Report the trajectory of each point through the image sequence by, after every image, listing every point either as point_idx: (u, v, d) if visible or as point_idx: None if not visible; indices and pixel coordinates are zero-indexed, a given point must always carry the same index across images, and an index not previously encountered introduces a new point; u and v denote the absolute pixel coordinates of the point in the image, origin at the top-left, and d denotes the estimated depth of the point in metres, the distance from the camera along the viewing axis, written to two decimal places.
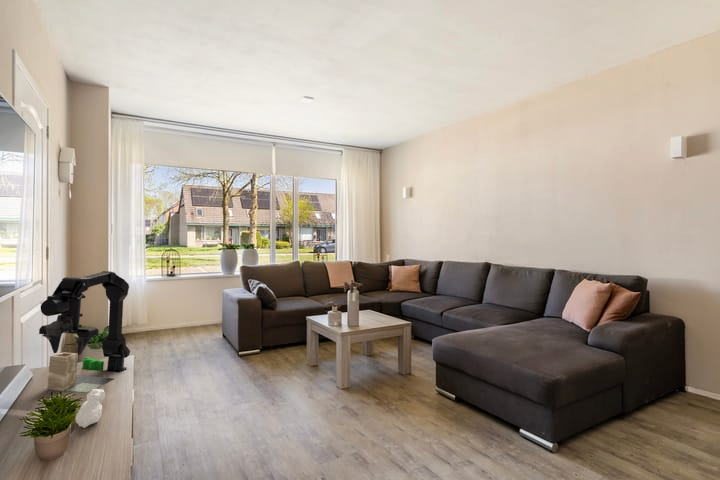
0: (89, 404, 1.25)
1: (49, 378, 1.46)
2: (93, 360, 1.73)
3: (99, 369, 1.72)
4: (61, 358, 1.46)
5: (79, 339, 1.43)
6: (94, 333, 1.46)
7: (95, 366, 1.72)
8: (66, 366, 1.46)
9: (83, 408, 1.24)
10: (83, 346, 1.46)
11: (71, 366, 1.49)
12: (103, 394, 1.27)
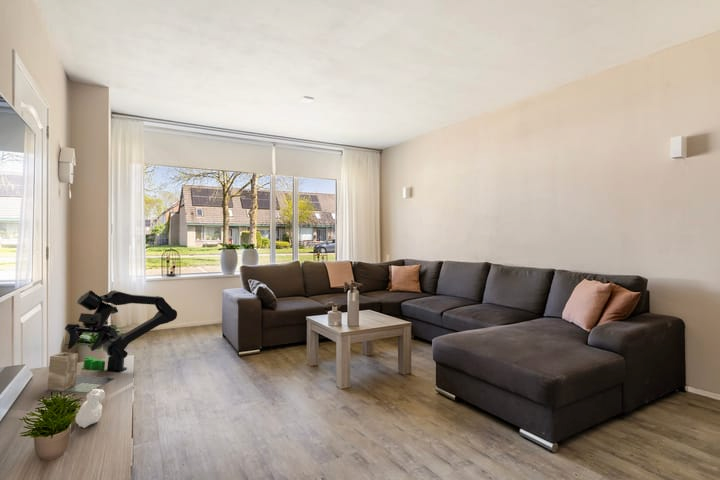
0: (89, 404, 1.25)
1: (49, 378, 1.46)
2: (94, 360, 1.73)
3: (100, 369, 1.72)
4: (61, 358, 1.46)
5: (101, 332, 1.59)
6: (114, 333, 1.63)
7: (96, 366, 1.73)
8: (66, 366, 1.46)
9: (83, 408, 1.24)
10: (99, 343, 1.59)
11: (71, 366, 1.49)
12: (103, 394, 1.27)
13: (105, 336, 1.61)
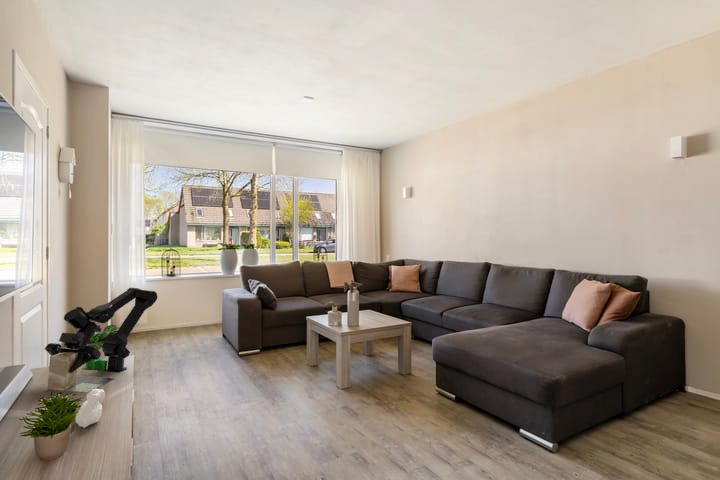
0: (89, 404, 1.25)
1: (49, 378, 1.46)
2: None
3: (102, 368, 1.73)
4: (61, 358, 1.46)
5: (80, 353, 1.50)
6: (97, 354, 1.53)
7: (98, 365, 1.73)
8: (66, 366, 1.46)
9: (83, 408, 1.24)
10: (77, 365, 1.50)
11: None
12: (103, 394, 1.27)
13: (85, 357, 1.52)
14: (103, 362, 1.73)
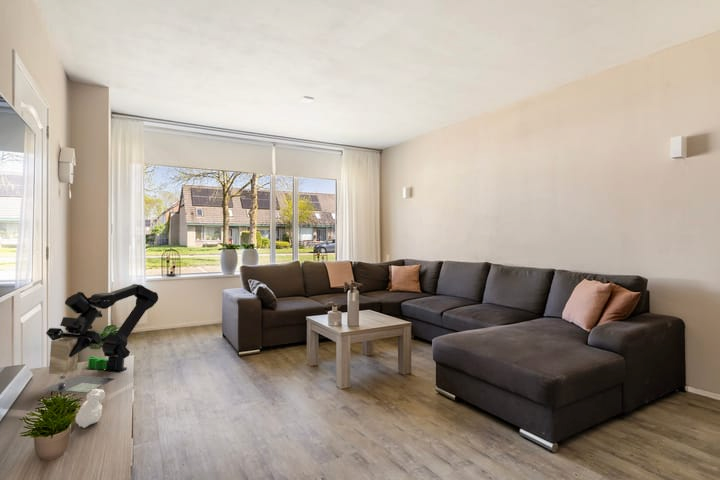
0: (89, 404, 1.25)
1: (50, 362, 1.46)
2: (99, 359, 1.75)
3: (105, 367, 1.74)
4: (62, 343, 1.46)
5: (80, 337, 1.50)
6: (98, 339, 1.53)
7: (101, 365, 1.74)
8: (67, 351, 1.46)
9: (83, 408, 1.24)
10: (78, 349, 1.50)
11: None
12: (103, 394, 1.27)
13: (85, 341, 1.52)
14: (105, 361, 1.74)
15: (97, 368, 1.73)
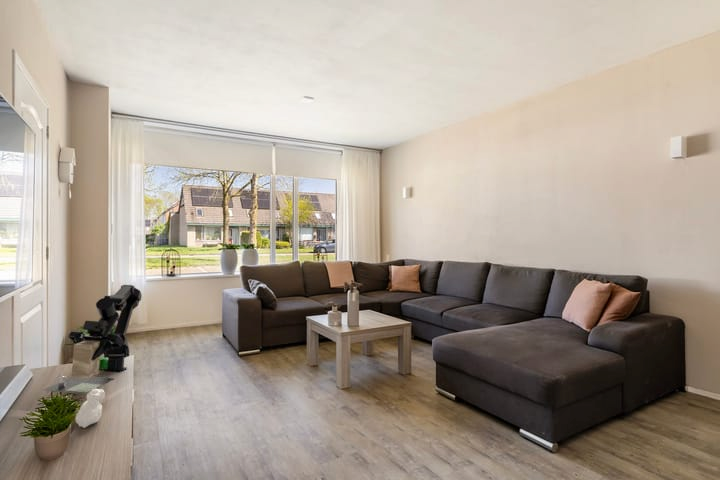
0: (89, 404, 1.25)
1: (73, 366, 1.46)
2: None
3: (105, 367, 1.74)
4: (85, 346, 1.46)
5: (102, 341, 1.51)
6: (120, 342, 1.54)
7: (101, 364, 1.75)
8: (90, 354, 1.47)
9: (83, 408, 1.24)
10: (100, 352, 1.50)
11: None
12: (103, 394, 1.27)
13: (107, 345, 1.52)
14: (106, 361, 1.74)
15: None
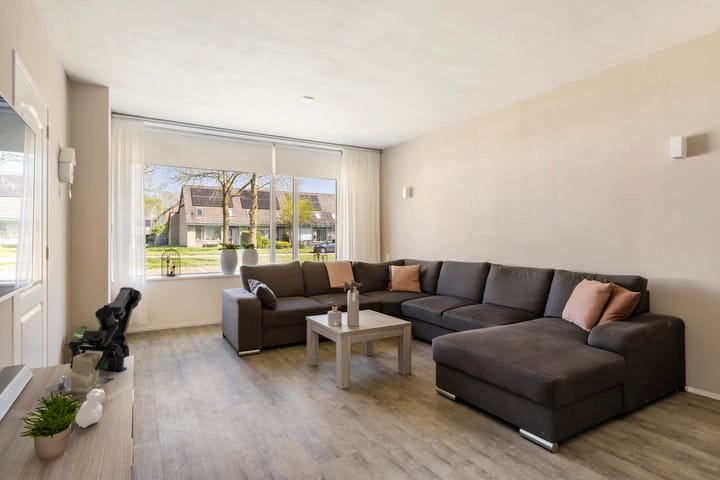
0: (89, 404, 1.25)
1: (72, 378, 1.46)
2: None
3: (106, 367, 1.75)
4: (84, 358, 1.46)
5: (105, 351, 1.51)
6: (119, 352, 1.54)
7: None
8: (89, 366, 1.47)
9: (83, 408, 1.24)
10: (103, 362, 1.50)
11: (94, 366, 1.49)
12: (103, 394, 1.27)
13: (110, 354, 1.52)
14: None
15: None
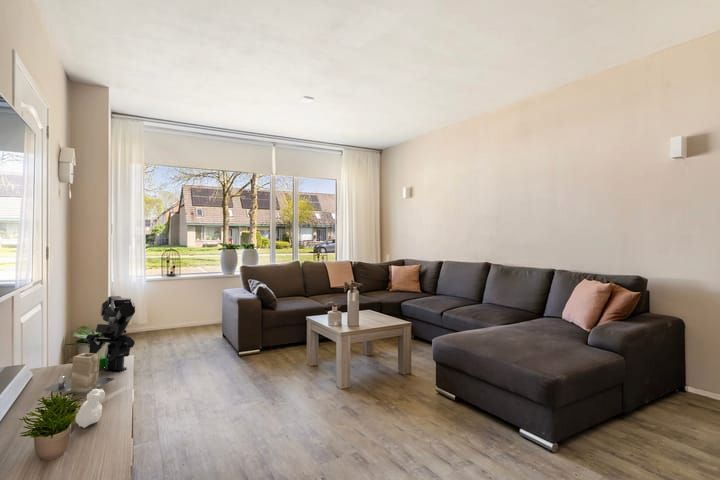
0: (89, 404, 1.25)
1: (72, 378, 1.46)
2: (101, 358, 1.77)
3: None
4: (84, 358, 1.46)
5: (117, 342, 1.59)
6: (131, 342, 1.62)
7: (104, 363, 1.76)
8: (89, 366, 1.47)
9: (83, 408, 1.24)
10: (116, 353, 1.59)
11: (94, 366, 1.49)
12: (103, 394, 1.27)
13: (122, 345, 1.61)
14: None
15: (100, 367, 1.75)
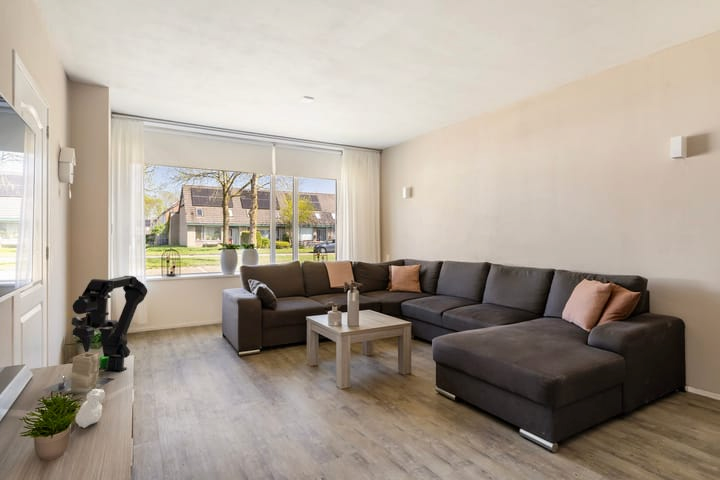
0: (89, 404, 1.25)
1: (72, 378, 1.46)
2: (103, 357, 1.78)
3: None
4: (84, 358, 1.46)
5: None
6: (80, 333, 1.51)
7: (105, 363, 1.77)
8: (89, 366, 1.47)
9: (83, 408, 1.24)
10: (85, 344, 1.55)
11: (94, 366, 1.49)
12: (103, 394, 1.27)
13: None
14: None
15: (102, 366, 1.76)
